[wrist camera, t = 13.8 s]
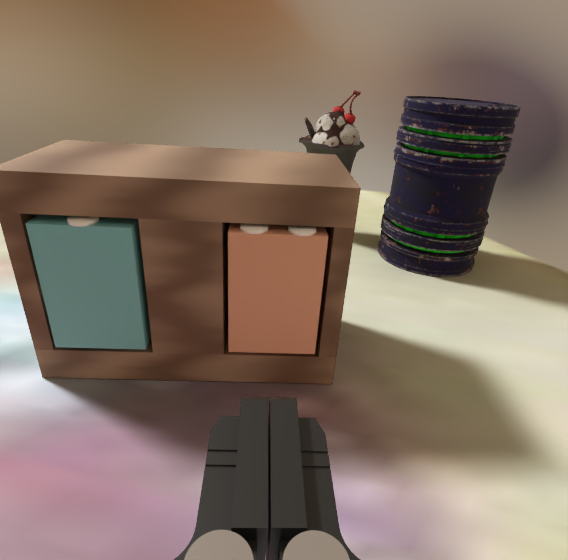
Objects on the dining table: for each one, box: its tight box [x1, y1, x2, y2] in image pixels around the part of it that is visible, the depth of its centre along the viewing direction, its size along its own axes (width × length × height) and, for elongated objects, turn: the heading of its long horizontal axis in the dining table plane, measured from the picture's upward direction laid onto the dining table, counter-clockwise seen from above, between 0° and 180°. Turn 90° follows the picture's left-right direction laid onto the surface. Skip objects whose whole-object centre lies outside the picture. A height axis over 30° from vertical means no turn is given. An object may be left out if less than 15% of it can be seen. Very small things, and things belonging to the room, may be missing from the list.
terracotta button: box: [228, 223, 328, 354], centre depth 24 cm, size 5×6×7 cm
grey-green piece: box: [26, 214, 151, 350], centre depth 24 cm, size 5×6×7 cm
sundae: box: [299, 91, 364, 173], centre depth 45 cm, size 7×7×15 cm
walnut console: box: [0, 140, 360, 384], centre depth 25 cm, size 17×8×12 cm, turn 92°
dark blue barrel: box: [378, 96, 521, 277], centre depth 40 cm, size 10×10×15 cm
